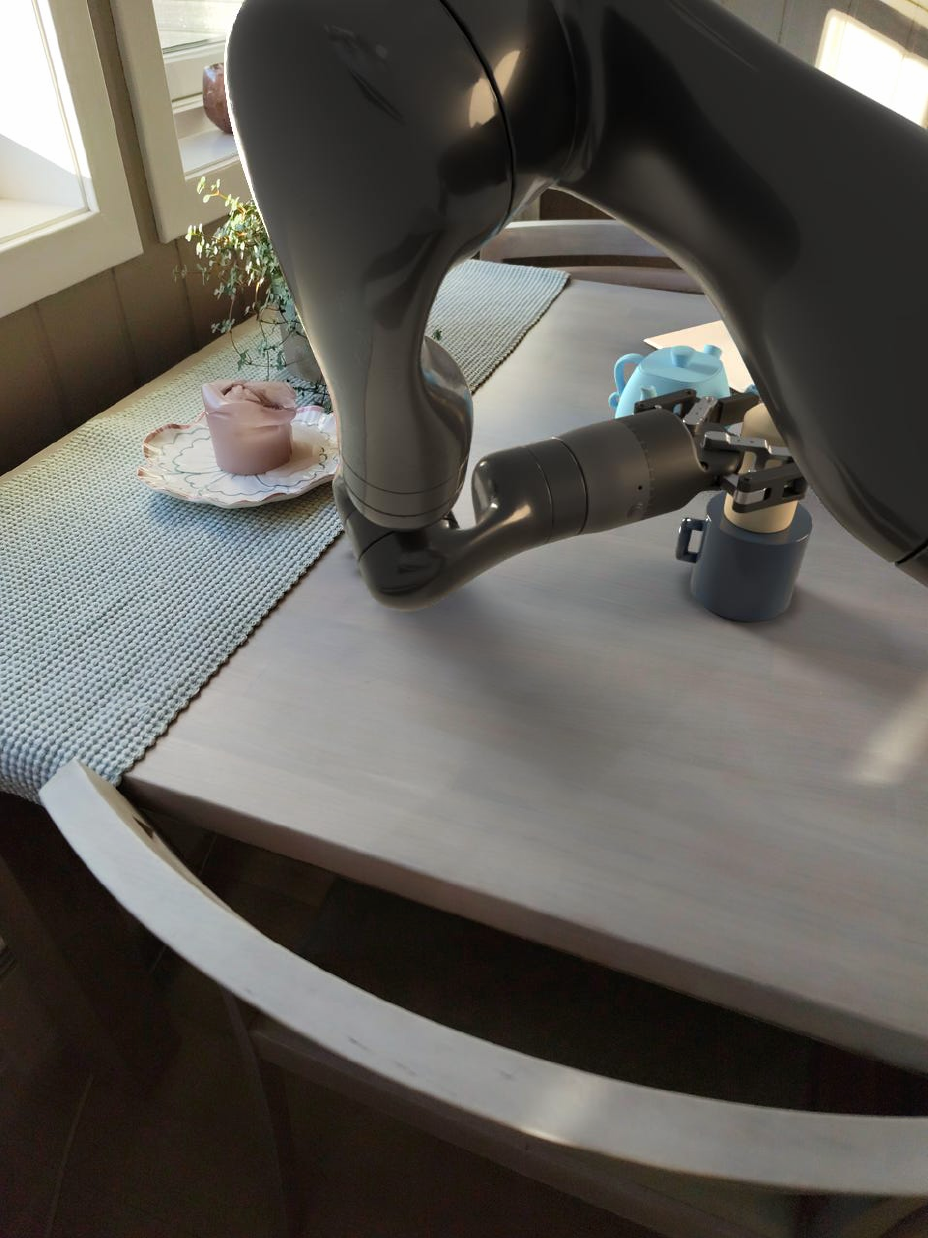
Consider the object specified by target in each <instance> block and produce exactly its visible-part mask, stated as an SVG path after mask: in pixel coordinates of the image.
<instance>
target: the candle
mask: <svg viewBox="0 0 928 1238" xmlns="http://www.w3.org/2000/svg"><path fill="white" fill-rule="evenodd" d="M739 437H747V438H758V439H765V440H766V441H767V442H768V445H770V446H776V447H786V445H785V443H784V441H783V440H782V438H781V436H780V434H779V432H778V431H777V429H776V427H775V425H774V423H773V421H772V419H771V417H770V415H769V413H768V411H767V409H766V407H765V405H764V403H763V402H761V403H758V405H757V406H755V407H753V408H752V409H750V410H749V411H747V412H746V414H745V416H744V420H743V422H742V425H741V430H740V434H739ZM753 458H754V453H752V452H745V456H744V460H743V464H742V467H741V469H740V471H739V472H738V473H747V472H749V470H750V469H751V467H752V462H753ZM781 464H782V461H779V460H768V461H767V462H766V464H765V468H764V470H765V469H769V468H773V467H777V466H781ZM785 487H787V486H785ZM785 487H784V488H785ZM733 500H734V498H733V497H732V496H730V495H729V494H728V493H727V496H726V501H725V506H724V513H725V515H726V517H727V518H728V520H730V521H731V522H732V523H733V524H735V525H736V526H738V527H741V528H743V529H746V530H749V531H754V532H761V533H771V532H778V531H781V530H783V529H785V528H787V527H788V526H789V525H790V523H791V521H792V519H793V516H794V512H795V509H796V506H797V502H798V503H799V500H797V501H793V502H789V503H785V504H781V505H777V506H773V507H769V508H765V509H761V510H757V511H753V512H749V513H745V514H740V513H736V512H734V511H733V510H732V504H733Z"/></svg>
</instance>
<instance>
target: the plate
mask: <svg viewBox="0 0 928 1238" xmlns="http://www.w3.org/2000/svg"><path fill="white" fill-rule="evenodd" d="M643 343H644V344H645V346H648V347H649V348H652V349H654V350H655V351H656V350H659V349H662V348H666V347H674V346H689V347H691V348H694V349H695V350H696V351H698V352H702V351H703V349H704V347H705V345H713V346H716V347H718V348H720V349H721V350H722V354H721V356H720V360H721V361H722V363H723V366H724V369H725V372H726V376H727V380H728V384H729V389H730V391H732V392H734V393H737V394H742V393H744V392H745V391H746V389H747V387H748V386H750V385H751V384H753V385H755V384H754V382H753V380H752V378H751V376H750V374H749V372H748V370H747V368H746V366H745V364H744V362H743V360H742V358H741V355H740V353H739V351H738V349H737V347H736V345H735V343H734V341H733V339H732V338H731V336H730V334H729V332H728V330H727V328H726V326H725V325H724V323H723V321H722V319H720V320H716V321H713V322H712V321H711V322H709V323H703V324H700V325H696V326H692V327H687V328H683V329H680V330H677V331H672V332H667V333H665V334H660V335H656V336H652V337H648V338H645V339H644V340H643Z"/></svg>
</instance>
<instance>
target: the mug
mask: <svg viewBox="0 0 928 1238" xmlns="http://www.w3.org/2000/svg"><path fill="white" fill-rule="evenodd" d="M726 496H727V492H726V491H724V490H723V491H720V492H719V493H717V494H716V495H714V496H713V497H711V498H710V499H709V501H707V504H706V507H705V512H704V517H703V519H700V518H694V517H689V516H685V517H683V519H682V520H681V523H680V525H679V530H678V533H677V534H678V536H677V540H676V545H675V546H676V547H675V550H674V552H675V554H674V557H675V559H676V560H677V561H680V562H684V563H690V564H693V569H692V574H691V579H690V590H691V593H692V596H693V597H694V598H695V599H696V601H697V602H698V603H699V604H700V605H701V606H703V607H704V608H705V609H706V610H708V611H709V612H711V613H714V614H715V615H718V616H720V617H722V618H726V619H728V620H732V621H733V620H734V621H739V622H748V623H749V622H750V623H751V622H752V623H754V622H755V623H756V622H757V623H758V622H764V621H768V620H769V621H770V620H773V619H776V618H777V617H779V616H781V615H782V614H783V613H785V611H786V610H788V607H789V606H790V603H791V600H792V596H793V593H794V590H795V587H796V584H797V580H798V576H799V573H800V570H801V567H802V563H803V562H804V561H803V560H804V558H805V555H806V551H807V547H808V544H809V541H810V538H811V535H812V531H813V528H814V520H813V517H812V515H811V514H810V512H809V511H808V510H807V508H806V507H804V506H803V505H802V504H801V503H799V501H798V502H797V506H796V509H795V512H794V516H793V519H792V521H791V523H790V525H789V526H788V527H787V528H785V529H783V530H781V531H778V532H771V533H761V532H754V531H749V530H746V529H743V528H741V527H738V526H736V525H735V524H733V523H732V522H731V521H730V520H728V518H727V517H726V515H725V513H724V506H725V501H726ZM693 531H695V532H696V531H697V532H700V535H699V539H698V545H697V546H698V547H697V550H696V551H692V550H689V549H690V544H691V540H692V534H693Z"/></svg>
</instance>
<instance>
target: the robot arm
mask: <svg viewBox="0 0 928 1238" xmlns="http://www.w3.org/2000/svg"><path fill="white" fill-rule="evenodd" d="M224 85H225V93H226V101H227V108H228V114H229V115H228V116H229V118H230V122H231V123H230V124H231V127H232V132H233V135H234V136H233V137H234V140H235V144H236V147H237V150H238V155H239V157H240V162H241V164H242V169H243V171H244V174H245V177H246V181H247V183H248V186H249V189H250V192H251V195H252V197H253V201H254V203H255V205H256V209H257V211H258V213H259V216H260V219H261V221H262V225H263V227H264V229H265V232H266V234H267V237H268V240H269V242H270V245H271V248H272V250H273V253H274V256H275V258H276V261H277V263H278V265H279V268H280V271H281V273H282V276H283V279H284V282H285V285H286V287H287V290H288V293H289V295H290V298H291V300H292V303H293V306H294V308H295V311H296V314H297V317H298V318H299V321H300V324H301V326H302V328H303V331H304V333H305V335H306V337H307V339H308V342H309V345H310V347H311V350H312V352H313V355H314V357H315V360H316V361H317V364H318V366H319V367H318V368H319V369H320V372H321V374H322V377H323V379H324V382H325V384H326V387H327V391H328V393H329V397H330V400H331V404H332V409H333V414H334V422H335V423H334V424H335V432H336V433H335V434H336V440H337V450H338V458H339V463H338V466H337V469H336V472H335V474H334V476H333V479H332V486H331V487H332V495H333V500H334V504H335V508H336V512H337V515H338V518H339V521H340V523H341V525H342V528H343V531H344V533H345V535H346V538H347V540H348V543H349V547H350V548H351V551H352V553H353V557H354V556H355V557H354V559H355V561H356V563H357V566H358V568H359V572H360V574H361V576H362V580H363V582H364V584H365V586H366V589H367V591H368V592H369V594H370V596H371V597H372V598H373V599H374V601H375V602H377V604H379V605H380V606H382V607H384V608H387V609H389V610H393V611H398V612H416V611H420V610H424V609H427V608H429V607H432V606H434V605H436V604H437V603H439V602H442V601H443V600H445V599H447V598H448V597H449V596H451V595H452V594H454V593H455V592H457V591H459V589H461V588H463V587H464V586H466V585H467V584H469V583H470V582H471V581H473V580H474V579H476V578H477V577H479V576H481V575H482V574H484V573H486V572H487V571H489V570H491V569H492V568H494V567H496V566H498V565H500V564H502V563H504V562H505V561H507V560H509V559H511V558H513V557H516V556H517V555H520V554H522V553H524V552H527V551H529V550H533V549H536V548H539V547H542V546H545V545H549V544H552V543H553V544H554V543H556V542H559V541H563V540H566V539H570V538H573V537H578V536H582V535H583V536H584V535H591V534H598V533H603V532H604V533H605V532H607V531H611V530H614V529H618V528H621V527H625V526H628V525H632V524H635V523H638V522H643V521H645V520H649V519H653V518H656V517H659V516H663V515H666V514H670V513H674V512H676V511H679V510H681V509H683V508H685V507H686V506H688V505H689V504H690V502H691V501H692V500H694V498H696V496H698V495H699V494H701V493H702V492H703V493H704V492H724V491H726V492H727V493H728V494H729V495H730V496H732V497H733V498H734V500H733V504H732V510H733V511H734V512H736V513H740V514H745V513H749V512H753V511H757V510H761V509H765V508H769V507H773V506H777V505H781V504H785V503H789V502H793V501H797V500H798V501H801V500H804V499H805V497H806V495H807V491H808V487H810V489H811V490H812V492H813V493H814V494H815V496H816V497H817V499H818V500H819V501H820V503H821V505H822V506H823V507H824V508H825V509H826V510H827V512H828V513H829V514H830V515H831V516H832V517H833V518H834V520H835V521H836V522H837V523H838V524H839V525H840V526H841V527H842V528H843V529H844V530H845V531H846V532H848V533H849V534H850V535H852V537H853V538H854V539H856V540H857V541H858V542H860V543H861V544H862V545H864V546H865V547H866V548H868V549H869V550H871V551H872V552H873V553H875V554H876V555H877V556H879V557H881V559H883V560H885V561H886V562H887V563H889V564H892V563H894V567H895V568H896V569H898V570H900V571H901V572H903V573H904V574H906V575H907V576H909V577H911V578H912V579H913V580H915V581H917V582H918V583H919V584H921V585H923V587H926V588H927V589H928V129H927V128H925V127H924V126H921V125H920V124H918V123H916V122H914V121H913V120H911V119H909V118H907V117H906V116H904V115H902V114H900V113H898V112H896V111H895V110H893V109H891V108H890V107H887V106H885V105H884V104H883V103H880V102H879V101H876V100H875V99H873V98H871V97H869V96H867V95H866V94H863V93H862V92H860V91H858V90H856V89H854V88H853V87H851V86H849V85H847V84H845V83H844V82H842V81H840V80H838V79H837V78H835V77H833V76H832V75H829V74H828V73H826V72H825V71H823V70H822V69H819V68H817V67H815V66H814V65H812V64H810V63H808V62H807V61H805V59H802V58H801V57H799V56H798V55H796V54H795V53H793V52H791V51H790V50H789V49H787V48H786V47H783V46H782V45H780V44H779V43H777V42H776V41H774V40H773V39H771V38H770V37H769V36H767V35H765V34H764V33H763V32H761V31H760V30H758V29H757V28H756V27H754V26H752V25H751V24H749V23H748V22H747V21H745V20H744V19H743V18H741V17H739V16H738V15H737V14H735V13H734V12H732V11H731V10H729V9H728V8H727V7H725V6H724V5H723V4H721V3H719V2H718V1H717V0H243V1H242V2H241V4H240V6H239V8H238V9H237V10H236V12H235V14H234V15H233V18H232V19H231V22H230V25H229V26H228V31H227V35H226V41H225V49H224ZM549 189H550V190H556V191H560V192H564V193H565V194H569V195H571V196H573V197H574V198H577V199H579V200H580V201H583V202H585V203H586V204H589V205H591V206H592V207H594V208H596V209H597V210H599V211H601V212H603V213H604V214H606V215H608V217H609V216H610V217H611V218H613V219H615V220H616V221H618V222H619V223H621V224H622V225H623V226H625V227H626V228H628V229H629V230H631V231H632V232H634V233H635V234H636V235H637V236H639V237H641V239H643V240H644V241H646V242H648V243H649V244H650V245H652V246H653V247H655V248H656V249H658V250H659V251H660V252H662V253H663V254H664V255H665V256H667V257H668V258H669V259H670V260H671V261H673V263H675V264H676V265H677V266H679V268H681V269H682V270H683V271H684V272H685V273H686V274H687V275H688V276H689V277H690V278H691V280H692V281H693V282H694V283H695V284H696V285H697V286H698V287H699V288H700V290H701V291H702V292H703V294H704V295H705V296H706V298H707V299H708V301H709V302H710V304H711V306H712V307H713V308H714V309H715V311H716V312H717V313H718V316H719V317H720V320H722V321H723V323H724V325H725V326H726V328H727V330H728V332H729V334H730V336H731V338H732V339H733V341H734V343H735V345H736V347H737V349H738V351H739V353H740V355H741V358H742V360H743V362H744V364H745V366H746V368H747V370H748V372H749V374H750V376H751V378H752V380H753V382H754V384H755V387H756V389H757V391H758V393H759V395H760V396H759V395H757V394H755V393H754V392H747V393H742V394H738V393H737V394H733V395H730V396H728V397H724V398H720V399H717V398H715V397H713V396H704V397H702V399H701V398H698V397H696V395H697V391H695V390H693V389H683V390H679V391H675V392H672V393H668V394H664V395H661V396H657V397H654V398H650V399H646V400H643V401H639V402H636V403H635V404H634V410H633V414H632V415H628V416H624V417H619V418H615V417H614V418H612V419H608V420H603V421H599V422H595V423H590V424H587V425H583V426H579V427H575V428H573V429H569V430H567V431H565V432H563V433H560V434H557V435H555V436H552V437H549V438H545V439H540V440H535V441H532V442H527V443H524V444H523V443H522V444H519V445H515V446H512V447H511V446H510V447H507V448H504V449H503V448H502V449H500V450H496V451H493V452H491V453H488V454H486V455H484V456H483V457H481V458H480V459H479V460H478V461H477V463H475V466H474V468H473V469H472V474H471V478H470V495H471V504H472V509H473V515H474V522H475V523H474V524H475V525H474V526H471V527H468V528H467V527H466V528H461V526H460V525H459V521H458V520H457V517H456V514H455V512H454V511H453V508H454V507H455V505H456V504H457V502H458V501H459V499H460V496H461V494H462V491H463V488H464V485H465V481H466V476H467V471H468V465H469V460H470V453H471V449H472V448H471V447H472V443H473V442H472V441H473V435H474V422H475V419H474V418H475V416H474V415H475V409H474V401H473V396H472V392H471V388H470V385H469V383H468V380H467V378H466V375H465V373H464V371H463V369H462V367H461V366H460V365H459V363H458V362H457V361H456V359H455V358H454V356H453V355H452V354H451V352H449V351H448V350H447V348H445V347H444V346H443V345H442V344H441V343H440V342H439V341H437V340H436V339H434V337H432V335H430V334H427V328H428V324H429V321H430V318H431V314H432V310H433V308H434V307H433V306H434V304H435V302H436V299H437V297H438V294H439V292H440V289H441V287H442V285H443V283H444V281H445V279H446V277H447V276H448V274H449V273H450V272H451V271H452V270H453V269H454V268H457V267H458V266H460V265H462V264H464V263H466V262H467V261H469V260H470V259H471V258H472V257H474V256H475V255H476V254H477V253H478V252H480V251H481V250H482V249H483V248H485V247H486V246H488V244H489V243H490V242H491V241H492V240H493V239H494V238H495V237H496V236H498V235H499V234H501V232H502V231H504V230H505V228H507V227H508V226H509V225H510V224H511V223H512V222H514V220H515V219H517V217H519V215H521V214H522V213H523V212H524V211H525V210H526V209H527V208H529V206H530V205H531V204H533V203H534V202H535V201H536V200H537V199H538V198H539V197H540V196H541V195H542V194H543V193H544V192H545V191H547V190H549ZM760 400H761V401H762V403H764V405H765V407H766V409H767V411H768V413H769V415H770V417H771V419H772V421H773V423H774V425H775V427H776V429H777V431H778V432H779V434H780V436H781V438H782V440H783V441H784V443H785V445H786V447H776V446H770V445H768V442H767V441H766V440H765V439H758V438H747V437H740V435H737V434H735V433H732V432H730V431H727V430H726V428H725V427H726V426H730V425H734V426H735V425H736V424H742V423H743V420H744V416H745V414H746V412H747V411H749V410H750V409H752V408H753V407H755V406H757V405H759V404H760ZM678 404H680V406H679V412H677V413H674V408H675V406H676V405H678ZM745 452H752V453H754V458H753V462H752V467H751V469H750V470H749V472H747V473H738V472H739V471H740V469H741V467H742V464H743V460H744V456H745ZM768 460H779V461H782V464H781V466H777V467H773V468H769V469H765V470H764V468H765V464H766V462H767V461H768ZM785 486H787V487H785ZM784 487H785V488H784Z"/></svg>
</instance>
